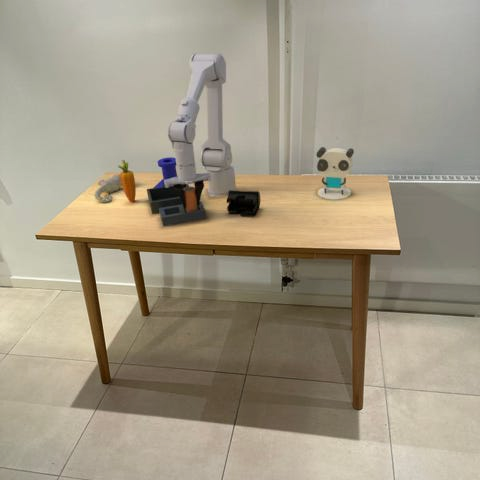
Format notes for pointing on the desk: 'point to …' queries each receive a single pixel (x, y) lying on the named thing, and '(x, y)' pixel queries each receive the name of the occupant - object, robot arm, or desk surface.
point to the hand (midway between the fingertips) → (191, 205)
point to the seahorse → (108, 187)
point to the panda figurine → (334, 172)
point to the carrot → (127, 182)
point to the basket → (163, 197)
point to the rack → (181, 214)
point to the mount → (167, 169)
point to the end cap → (243, 202)
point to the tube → (190, 198)
